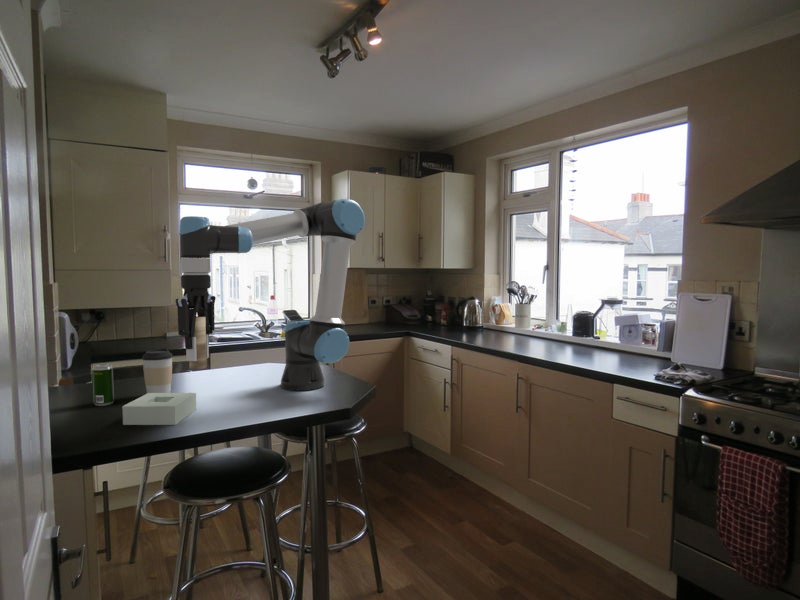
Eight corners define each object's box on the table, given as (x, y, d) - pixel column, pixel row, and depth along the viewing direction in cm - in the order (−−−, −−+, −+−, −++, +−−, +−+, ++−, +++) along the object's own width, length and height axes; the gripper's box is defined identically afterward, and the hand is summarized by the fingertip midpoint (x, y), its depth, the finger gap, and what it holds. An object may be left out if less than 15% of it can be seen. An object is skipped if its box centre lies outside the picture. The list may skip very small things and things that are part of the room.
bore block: (196, 409, 149) (195, 392, 149) (175, 424, 135) (174, 406, 135) (148, 409, 149) (148, 392, 149) (123, 424, 135) (122, 406, 135)
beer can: (111, 405, 153) (109, 366, 153) (91, 406, 152) (89, 367, 151) (116, 400, 159) (114, 363, 158) (97, 402, 157) (95, 363, 156)
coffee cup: (161, 400, 160) (160, 353, 158) (136, 398, 161) (135, 352, 160) (179, 392, 168) (178, 348, 167) (155, 391, 170) (154, 347, 169)
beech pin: (210, 366, 141) (208, 316, 140) (199, 369, 137) (198, 318, 136) (196, 365, 142) (195, 316, 141) (185, 368, 138) (184, 317, 137)
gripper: (205, 273, 147) (207, 353, 149) (160, 274, 130) (163, 364, 132) (227, 273, 145) (228, 354, 146) (184, 274, 128) (187, 365, 130)
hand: (197, 358), depth 139 cm, fingers closed on beech pin, 4 cm apart
